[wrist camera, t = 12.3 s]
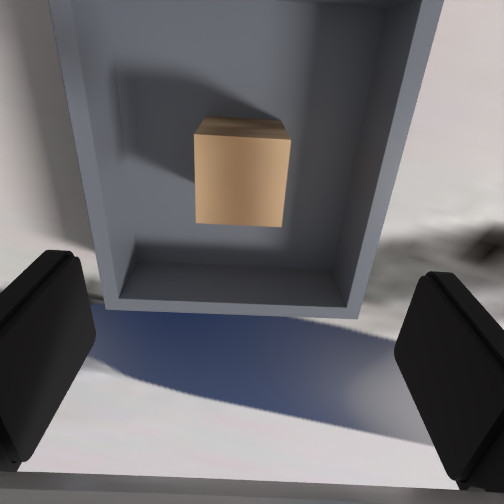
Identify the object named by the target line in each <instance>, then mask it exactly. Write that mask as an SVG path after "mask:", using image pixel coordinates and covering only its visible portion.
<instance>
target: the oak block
mask: <svg viewBox="0 0 504 504" xmlns="http://www.w3.org/2000/svg"><path fill="white" fill-rule="evenodd" d="M290 146H291V139H290V137H289V135H288V133H287V131H286V129H285V127H284V125H283V123H282V121H281V120H267V119H250V118H234V117H217V116H205V118H204V119H203V121H202V123H201V124H200V126H199V127H198V129H197V130H196V132H195V133H194V159H195V203H196V223H204V224H225V225H246V226H267V227H282V218H283V209H284V200H285V191H286V182H287V173H288V164H289V155H290Z"/></svg>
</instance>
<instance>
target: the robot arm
mask: <svg viewBox="0 0 504 504" xmlns="http://www.w3.org/2000/svg"><path fill="white" fill-rule="evenodd" d="M95 337H96V331H95V326H94V321H93V317H92V312H91V307H90V303H89V298H88V294H87V289H86V284H85V280H84V275H83V271H82V266H81V262H80V259H79V258H78V257H74V255H73V253H72V252H71V251H61V250H46V251H45V252H43V253H42V254H41V255H40V256H39V257H38V258H37V259H36V260H35V261H34V262H33V263H32V264H31V265H30V266H29V267H28V268H27V269H26V270H24V271H23V272H22V273H21V274H20V275H19V276H18V277H17V278H16V279H15V280H14V281H13V282H12V283H11V284H10V285H9V286H8V287H7V288H6V289H4V290H3V291H2V292H1V293H0V504H504V330H503V329H502V327H501V326H500V325H499V324H498V323H497V322H496V321H495V320H494V318H493V317H492V316H491V315H490V314H489V313H488V312H487V311H486V309H485V308H484V307H483V306H482V305H481V304H480V303H479V301H478V300H477V299H476V298H475V297H474V296H473V295H472V294H471V292H470V291H469V290H468V289H467V288H466V287H465V286H464V285H463V283H462V282H461V281H460V280H459V279H458V278H457V277H456V276H455V275H454V274H453V273H450V272H433V271H430V272H428V273H427V274H426V275H425V276H422V277H421V278H420V279H419V281H418V283H417V286H416V289H415V292H414V294H413V297H412V300H411V303H410V305H409V308H408V311H407V314H406V317H405V319H404V322H403V325H402V328H401V330H400V333H399V336H398V339H397V341H396V345H395V348H394V356H395V360H396V362H397V364H398V366H399V369H400V371H401V373H402V375H403V378H404V380H405V382H406V384H407V387H408V388H409V391H410V393H411V395H412V398H413V400H414V402H415V404H416V406H417V409H418V411H419V413H420V415H421V418H422V420H423V422H424V424H425V426H426V429H427V431H428V433H429V435H430V437H431V440H432V442H433V444H434V446H435V449H436V451H437V453H438V455H439V457H440V460H441V462H442V464H443V466H444V469H445V471H446V473H447V475H448V476H449V477H450V479H452V480H455V481H456V483H457V485H458V487H459V489H460V490H448V489H427V488H406V487H386V486H365V485H344V484H323V483H300V482H277V481H254V480H230V479H207V478H183V477H157V476H130V475H104V474H77V473H50V472H17V470H18V468H19V466H20V465H21V463H22V462H26V461H28V460H29V459H30V458H31V456H32V454H33V453H34V451H35V449H36V447H37V446H38V444H39V442H40V440H41V438H42V437H43V435H44V433H45V431H46V429H47V428H48V426H49V424H50V422H51V420H52V418H53V417H54V415H55V413H56V411H57V409H58V408H59V406H60V404H61V402H62V400H63V399H64V397H65V395H66V393H67V391H68V390H69V388H70V386H71V384H72V382H73V381H74V379H75V377H76V375H77V373H78V371H79V370H80V368H81V366H82V364H83V362H84V361H85V359H86V357H87V355H88V353H89V351H90V350H91V348H92V346H93V344H94V342H95Z"/></svg>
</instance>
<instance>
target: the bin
mask: <svg viewBox="0 0 504 504" xmlns="http://www.w3.org/2000/svg"><path fill="white" fill-rule="evenodd" d="M443 2H444V0H49V6H50V11H51V17H52V22H53V27H54V33H55V38H56V43H57V49H58V54H59V60H60V65H61V70H62V76H63V81H64V86H65V92H66V97H67V103H68V108H69V113H70V119H71V124H72V130H73V135H74V140H75V146H76V151H77V156H78V162H79V167H80V173H81V178H82V183H83V189H84V194H85V200H86V205H87V210H88V216H89V221H90V226H91V232H92V237H93V243H94V248H95V253H96V259H97V264H98V269H99V275H100V280H101V286H102V291H103V296H104V302H105V307H106V309H107V310H132V311H133V310H134V311H159V312H160V311H161V312H184V313H210V314H237V315H262V316H288V317H314V318H340V319H358V316H359V312H360V309H361V305H362V301H363V297H364V294H365V290H366V286H367V283H368V279H369V275H370V272H371V268H372V264H373V261H374V257H375V253H376V249H377V246H378V242H379V238H380V235H381V231H382V227H383V224H384V220H385V216H386V213H387V209H388V205H389V202H390V198H391V194H392V190H393V187H394V183H395V179H396V176H397V172H398V168H399V165H400V161H401V157H402V154H403V150H404V146H405V142H406V139H407V135H408V131H409V128H410V124H411V120H412V117H413V113H414V109H415V106H416V102H417V98H418V94H419V91H420V87H421V83H422V80H423V76H424V72H425V69H426V65H427V61H428V58H429V54H430V50H431V46H432V43H433V39H434V35H435V32H436V28H437V24H438V21H439V17H440V13H441V10H442V6H443ZM205 116H217V117H234V118H250V119H267V120H281V121H282V123H283V125H284V127H285V129H286V131H287V133H288V135H289V137H290V139H291V146H290V155H289V164H288V173H287V182H286V191H285V200H284V209H283V218H282V227H267V226H246V225H225V224H204V223H196V203H195V159H194V133H195V132H196V130H197V129H198V127H199V126H200V124H201V123H202V121H203V119H204V118H205Z"/></svg>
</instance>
